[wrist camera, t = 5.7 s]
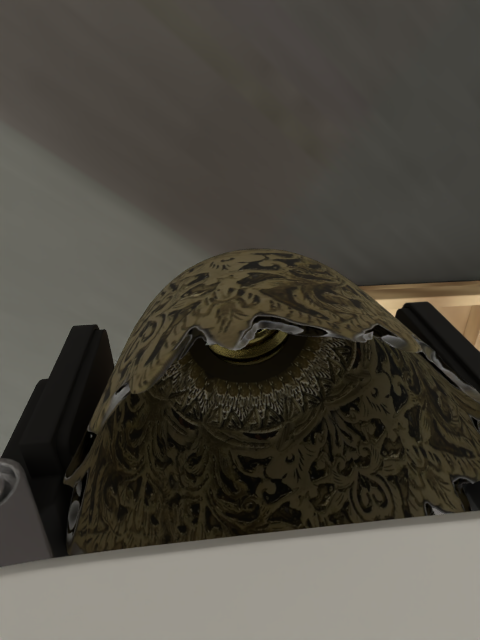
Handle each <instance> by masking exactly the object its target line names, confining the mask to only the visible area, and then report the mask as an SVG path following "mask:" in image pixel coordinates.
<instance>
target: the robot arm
mask: <svg viewBox="0 0 480 640" xmlns="http://www.w3.org/2000/svg"><path fill="white" fill-rule="evenodd" d="M395 318H397V319H398V320H399V321H400V322H401V323H402V324H403V325H405V326H406V327H407V328H408V329H409V330H410V331H411V332H413V333H414V334H415V335H416V336H417V337H418V338H419V339H421V340H422V341H423V342H424V343H425V344H427V345H428V346H429V347H431V348H432V349H433V350H434V351H435V353H436V354H437V355H438V356H440V358H441V359H442V360H443V361H444V362H445V363H446V364H447V365H448V366H449V367H450V368H452V369H453V370H454V371H455V372H456V373H457V374H458V375H459V376H460V377H461V378H463V379H464V380H465V381H466V382H468V383H469V384H470V385H472V386H473V387H474V388H475V389H476V390H477V391H478V392H479V393H480V351H478V350H477V349H476V348H475V347H474V346H473V345H472V344H471V343H470V342H469V341H468V340H467V339H466V338H465V337H464V336H463V335H462V334H461V333H460V332H459V331H458V330H457V329H456V328H455V327H454V326H453V325H452V324H451V323H450V322H449V321H448V320H447V319H446V318H445V317H444V316H443V315H442V314H441V313H440V312H439V311H438V310H437V309H436V308H435V307H434V306H433V305H432V304H431V303H429V302H427V301H425V302H410V303H405V304H404V305H403V307H402V308H401V309H398V310H397V311H396V315H395ZM113 370H114V363H113V358H112V354H111V349H110V344H109V339H108V335H107V332H106V330H105V329H104V330H99V328H98V326H97V325H96V324H95V325H80V326H73V327H72V329H71V331H70V333H69V335H68V337H67V339H66V342H65V344H64V346H63V348H62V350H61V353H60V355H59V357H58V359H57V361H56V363H55V366H54V368H53V370H52V372H51V374H50V376H49V379H42V380H40V381H39V382H38V383H37V385H36V387H35V389H34V391H33V393H32V395H31V397H30V399H29V401H28V403H27V405H26V407H25V409H24V411H23V413H22V416H21V418H20V420H19V422H18V424H17V426H16V428H15V430H14V432H13V434H12V436H11V438H10V440H9V442H8V444H7V446H6V448H5V450H4V452H3V454H2V456H1V458H0V640H480V481H478V482H476V483H474V484H472V483H463V484H462V485H463V489H464V491H465V493H466V495H467V497H468V500H469V503H470V506H471V509H472V511H471V512H461V513H451V514H441V515H432V516H422V517H412V518H402V519H392V520H383V521H373V522H364V523H354V524H345V525H335V526H326V527H317V528H307V529H298V530H289V531H280V532H270V533H261V534H252V535H243V536H234V537H225V538H216V539H207V540H198V541H189V542H180V543H172V544H163V545H154V546H145V547H136V548H128V549H120V550H112V551H104V552H97V553H89V554H81V555H73V556H69V554H68V552H67V545H66V538H67V520H68V512H69V507H70V503H71V498H72V494H73V489H74V488H73V487H71V486H70V485H66V484H65V485H64V483H63V481H64V477H65V473H66V471H67V468H68V466H69V464H70V462H71V460H72V458H73V457H74V455H75V453H76V451H77V449H78V447H79V445H80V443H81V440H82V438H83V436H84V434H85V432H86V430H87V427H88V425H89V423H90V421H91V418H92V416H93V414H94V412H95V410H96V407H97V405H98V403H99V401H100V399H101V396H102V394H103V392H104V390H105V388H106V385H107V383H108V381H109V379H110V377H111V374H112V372H113ZM75 471H76V470H75ZM75 471H74V472H75ZM72 475H73V474H72ZM85 487H86V482H82V489H81V491H82V496H84V491H85Z"/></svg>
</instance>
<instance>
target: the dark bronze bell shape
mask: <svg viewBox="0 0 480 640" xmlns="http://www.w3.org/2000/svg"><path fill="white" fill-rule="evenodd" d="M75 470H76V471H75ZM74 471H75V472H74ZM72 474H73V475H72ZM478 481H480V393H479V392H478V391H477V390H476V389H475V388H474V387H473V386H472V385H470V384H469V383H468V382H466V381H465V380H464V379H463V378H461V377H460V376H459V375H458V374H457V373H456V372H455V371H454V370H453V369H452V368H450V367H449V366H448V365H447V364H446V363H445V362H444V361H443V360H442V359H441V358H440V356H438V355H437V354H436V353H435V351H434V350H433V349H432V348H431V347H429V346H428V345H427V344H425V343H424V342H423V341H422V340H421V339H419V338H418V337H417V336H416V335H415V334H414V333H413V332H411V331H410V330H409V329H408V328H407V327H406V326H405V325H403V324H402V323H401V322H400V321H399V320H398V319H397V318H395V317H394V316H393V315H392V314H391V313H390V312H388V311H387V310H386V309H385V308H384V307H383V306H381V305H380V304H379V303H378V302H377V301H375V300H374V299H373V298H372V297H371V296H369V295H368V294H367V293H366V292H364V291H363V290H362V289H361V288H359V287H358V286H357V285H355V284H354V283H353V282H351V281H350V280H348V279H347V278H345V277H344V276H342V275H341V274H339V273H338V272H336V271H334V270H333V269H331V268H330V267H328V266H326V265H324V264H322V263H320V262H318V261H315V260H312V259H310V258H307V257H304V256H302V255H299V254H296V253H292V252H287V251H283V250H275V249H246V250H238V251H233V252H228V253H224V254H221V255H217V256H214V257H211V258H209V259H207V260H204V261H202V262H200V263H198V264H196V265H194V266H192V267H191V268H189V269H187V270H185V271H184V272H183V273H181V274H180V275H179V276H177V277H176V278H175V279H173V280H172V281H171V282H170V283H169V284H168V285H167V286H166V287H165V288H164V289H163V290H162V291H161V292H160V293H159V294H158V295H157V296H156V297H155V299H154V300H153V301H152V302H151V303H150V304H149V306H148V307H147V309H146V310H145V312H144V314H143V315H142V317H141V318H140V320H139V321H138V323H137V324H136V326H135V328H134V329H133V331H132V333H131V335H130V337H129V339H128V341H127V343H126V345H125V347H124V349H123V351H122V353H121V355H120V358H119V360H118V362H117V364H116V366H115V368H114V370H113V372H112V374H111V377H110V379H109V381H108V383H107V385H106V388H105V390H104V392H103V394H102V396H101V399H100V401H99V403H98V405H97V407H96V410H95V412H94V414H93V416H92V418H91V421H90V423H89V425H88V427H87V430H86V432H85V434H84V436H83V438H82V440H81V443H80V445H79V447H78V449H77V451H76V453H75V455H74V457H73V458H72V460H71V462H70V464H69V466H68V468H67V471H66V473H65V477H64V481H63V483H64V485H65V484H66V485H70V486H71V487H73V488H74V489H73V494H72V498H71V503H70V507H69V512H68V520H67V538H66V545H67V552H68V554H69V556H73V555H81V554H89V553H97V552H104V551H112V550H120V549H128V548H136V547H145V546H154V545H163V544H172V543H180V542H189V541H198V540H207V539H216V538H225V537H234V536H243V535H252V534H261V533H270V532H280V531H289V530H298V529H307V528H317V527H326V526H335V525H345V524H354V523H364V522H373V521H383V520H392V519H402V518H412V517H422V516H432V515H435V514H434V511H433V510H432V507H433V508H435V509H437V510H439V511H440V512H441V513H444V514H451V513H461V512H471V511H472V509H471V506H470V503H469V500H468V497H467V495H466V493H465V491H464V489H463V485H462V484H463V483H472V484H474V483H476V482H478ZM82 482H86V487H85V491H84V496H82V491H81V489H82Z"/></svg>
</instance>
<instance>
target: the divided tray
mask: <svg viewBox="0 0 480 640" xmlns="http://www.w3.org/2000/svg"><path fill="white" fill-rule="evenodd" d="M358 287H359V288H361V289H362V290H363V291H364V292H366V293H367V294H368V295H369V296H371V297H372V298H373V299H374V300H375V301H377V302H378V303H379V304H380V305H381V306H383V307H384V308H385V309H386V310H387V311H388V312H390V313H391V314H392V315H393V316H394V317H395V315H396V311H397V310H398V309H401V308H402V307H403V305H404V304H405V303H410V302H425V301H427V302H429V303H431V304H432V305H433V306H434V307H435V308H436V309H437V310H438V311H439V312H440V313H441V314H442V315H443V316H444V317H445V318H446V319H447V320H448V321H449V322H450V323H451V324H452V325H453V326H454V327H455V328H456V329H457V330H458V331H459V332H460V333H461V334H462V335H463V336H464V337H465V338H466V339H467V340H468V341H469V342H470V343H471V344H472V345H473V346H474V347H475V348H476V349H477V350H478V351H480V281H463V282H441V283H420V284H399V285H377V286H358Z"/></svg>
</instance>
